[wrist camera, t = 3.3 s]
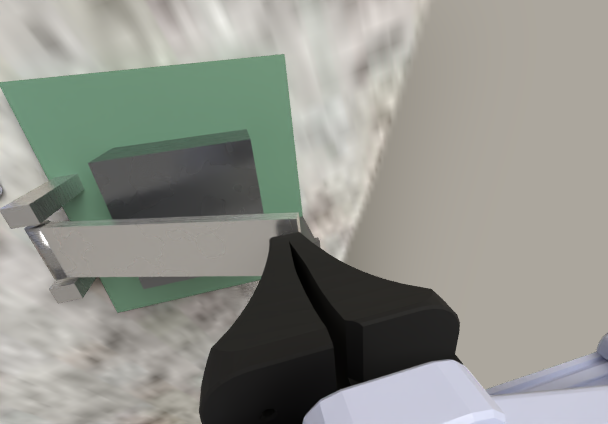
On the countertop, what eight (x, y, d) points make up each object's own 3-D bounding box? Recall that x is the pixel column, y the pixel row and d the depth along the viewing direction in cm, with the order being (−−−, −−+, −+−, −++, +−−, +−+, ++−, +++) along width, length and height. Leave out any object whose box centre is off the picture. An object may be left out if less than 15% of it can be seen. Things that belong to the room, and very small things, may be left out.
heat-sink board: (121, 303, 23) (90, 369, 18) (11, 82, 16) (-94, 84, 11) (305, 262, 25) (325, 308, 20) (281, 55, 18) (302, 46, 13)
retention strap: (65, 268, 16) (49, 279, 15) (38, 220, 15) (18, 230, 14) (305, 265, 14) (303, 278, 13) (299, 210, 13) (296, 221, 12)
